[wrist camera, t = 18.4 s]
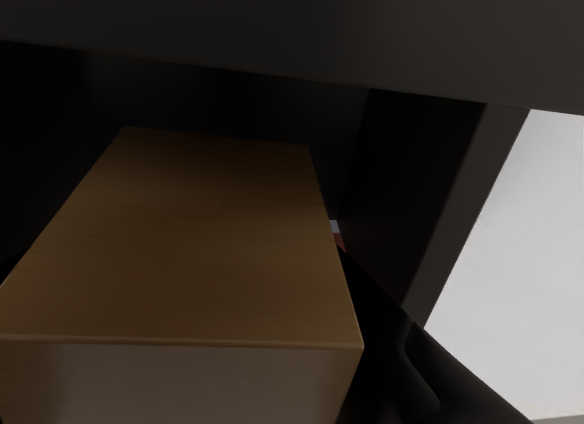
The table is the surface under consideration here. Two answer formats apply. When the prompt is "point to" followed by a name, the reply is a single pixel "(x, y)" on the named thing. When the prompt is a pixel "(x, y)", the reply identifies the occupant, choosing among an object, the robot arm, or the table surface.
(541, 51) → the drawer cabinet casing
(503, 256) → the table surface
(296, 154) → the oak block
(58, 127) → the red-fronted drawer
